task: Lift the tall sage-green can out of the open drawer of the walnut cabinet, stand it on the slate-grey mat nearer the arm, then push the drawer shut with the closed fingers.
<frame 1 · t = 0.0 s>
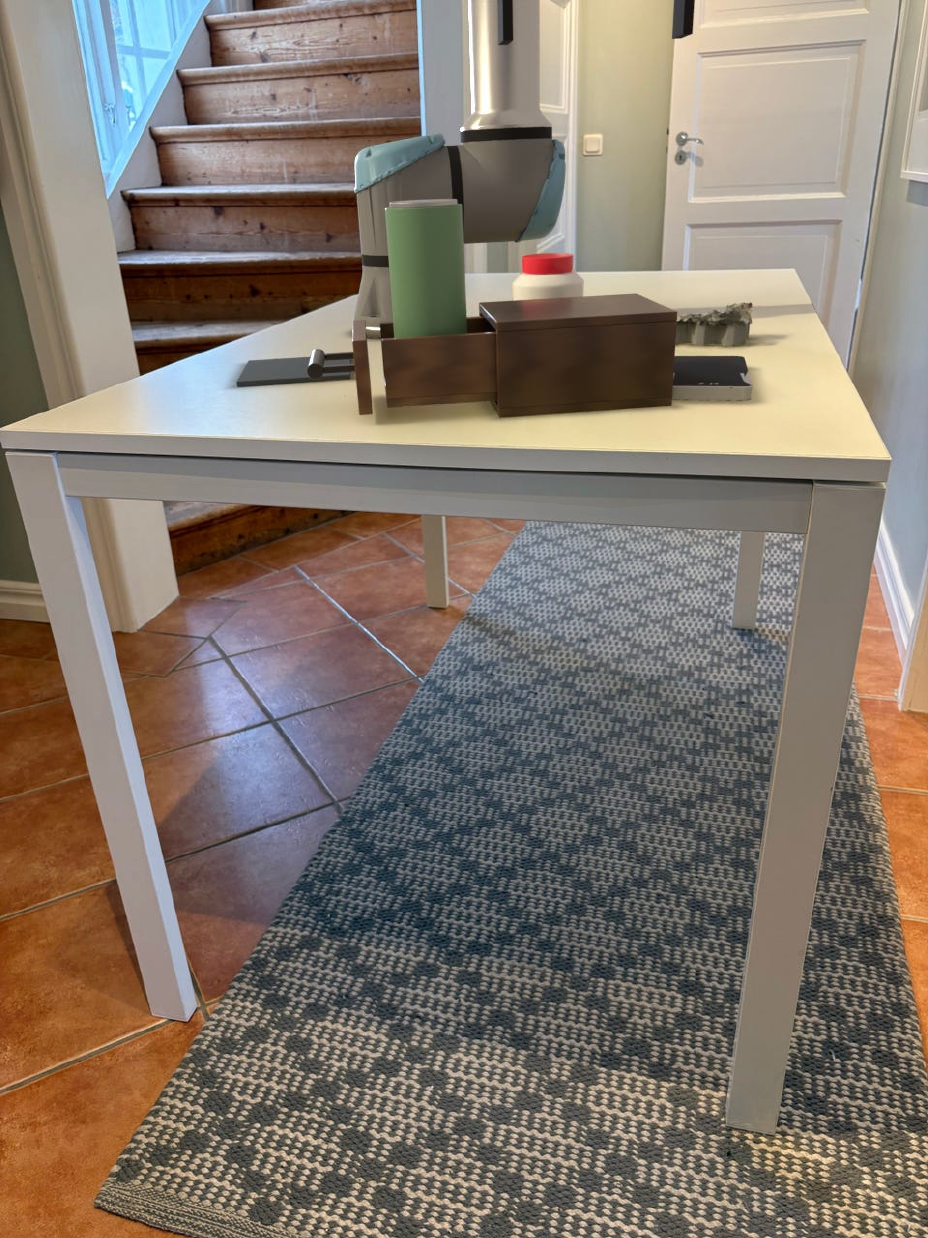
hand: (594, 40, 68), 28 cm above the table, tool pointing down, fingers open, 13 cm apart
mat: (297, 371, 101), on the table
can: (433, 383, 83), point 2 cm above the table, touching drawer
cabinet: (570, 395, 85), on the table
pill bottle: (547, 362, 100), on the table
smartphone: (705, 385, 87), on the table
egg carton: (703, 342, 107), on the table
drawer: (412, 362, 82), point 4 cm above the table, slide at 11.0 cm, touching can
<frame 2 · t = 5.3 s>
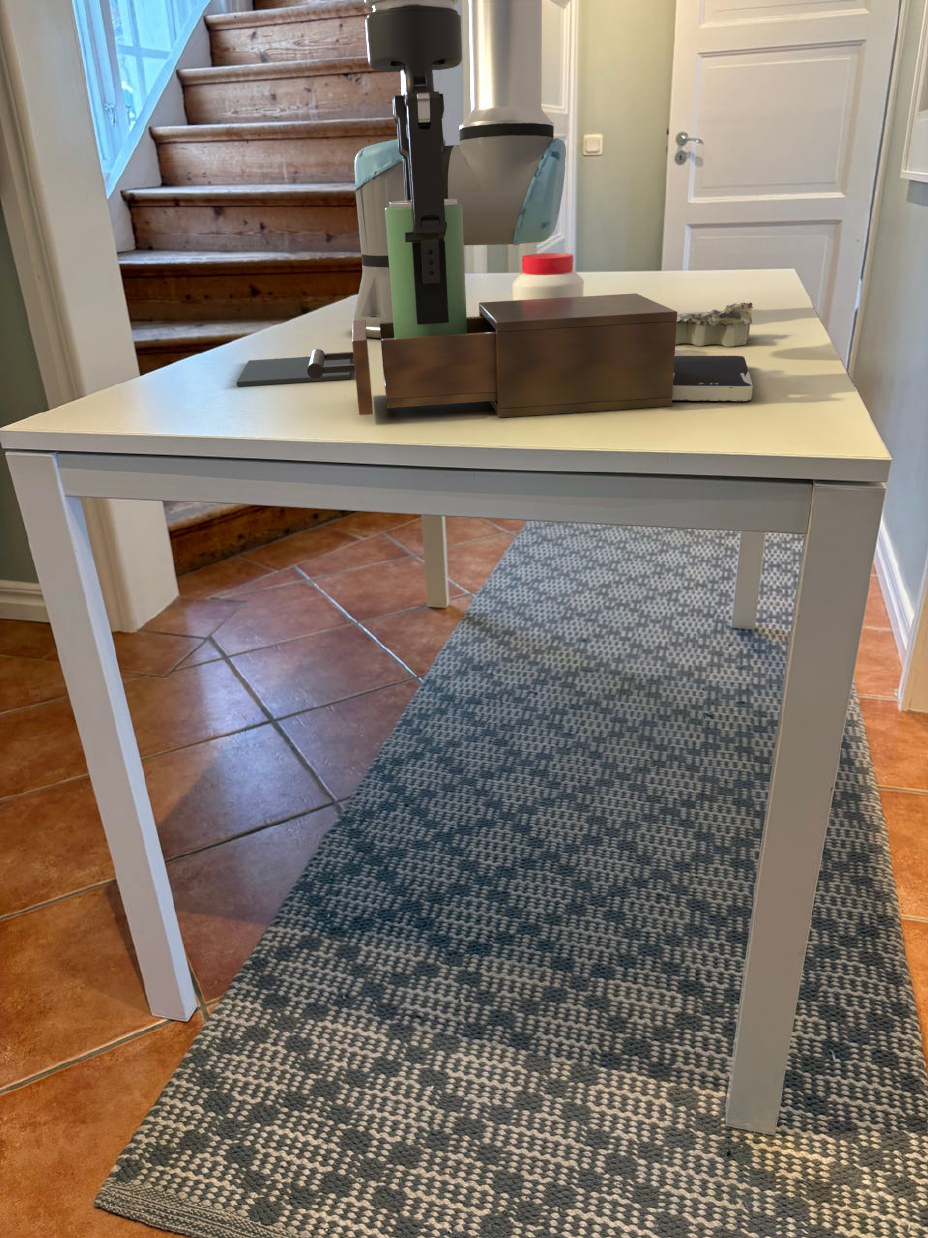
hand: (429, 316, 81), 8 cm above the table, tool pointing down, fingers closed on can, 7 cm apart
can: (433, 383, 83), point 2 cm above the table, touching drawer, gripper
everything else where it was.
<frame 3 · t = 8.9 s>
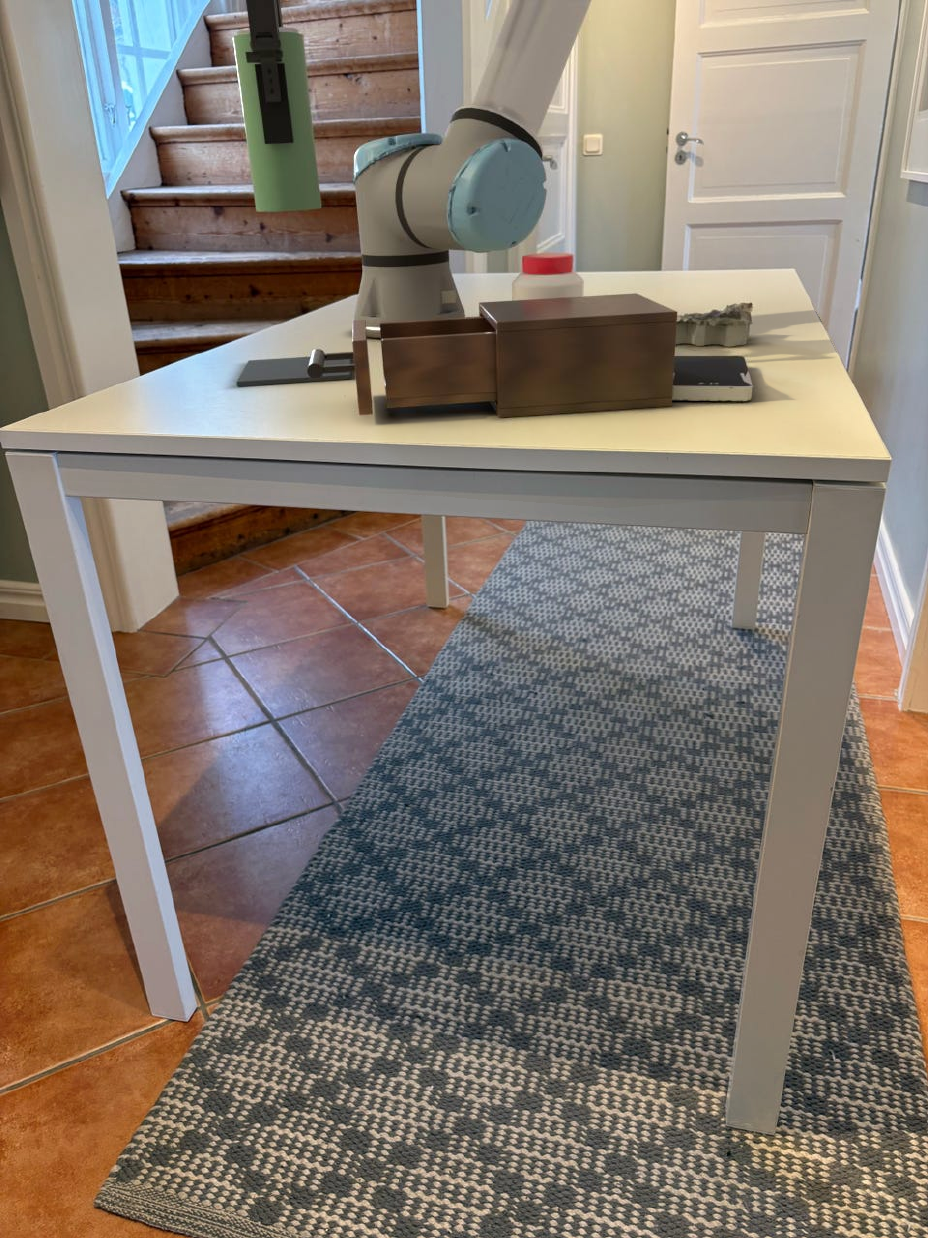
hand: (281, 143, 89), 23 cm above the table, tool pointing down, fingers closed on can, 7 cm apart
can: (289, 209, 92), point 17 cm above the table, touching gripper
drawer: (412, 362, 82), point 4 cm above the table, slide at 11.0 cm
everything else where it was.
when the fingers open (6 cm above the table, at t = 13.0 s): can stays where it is, resting on mat.
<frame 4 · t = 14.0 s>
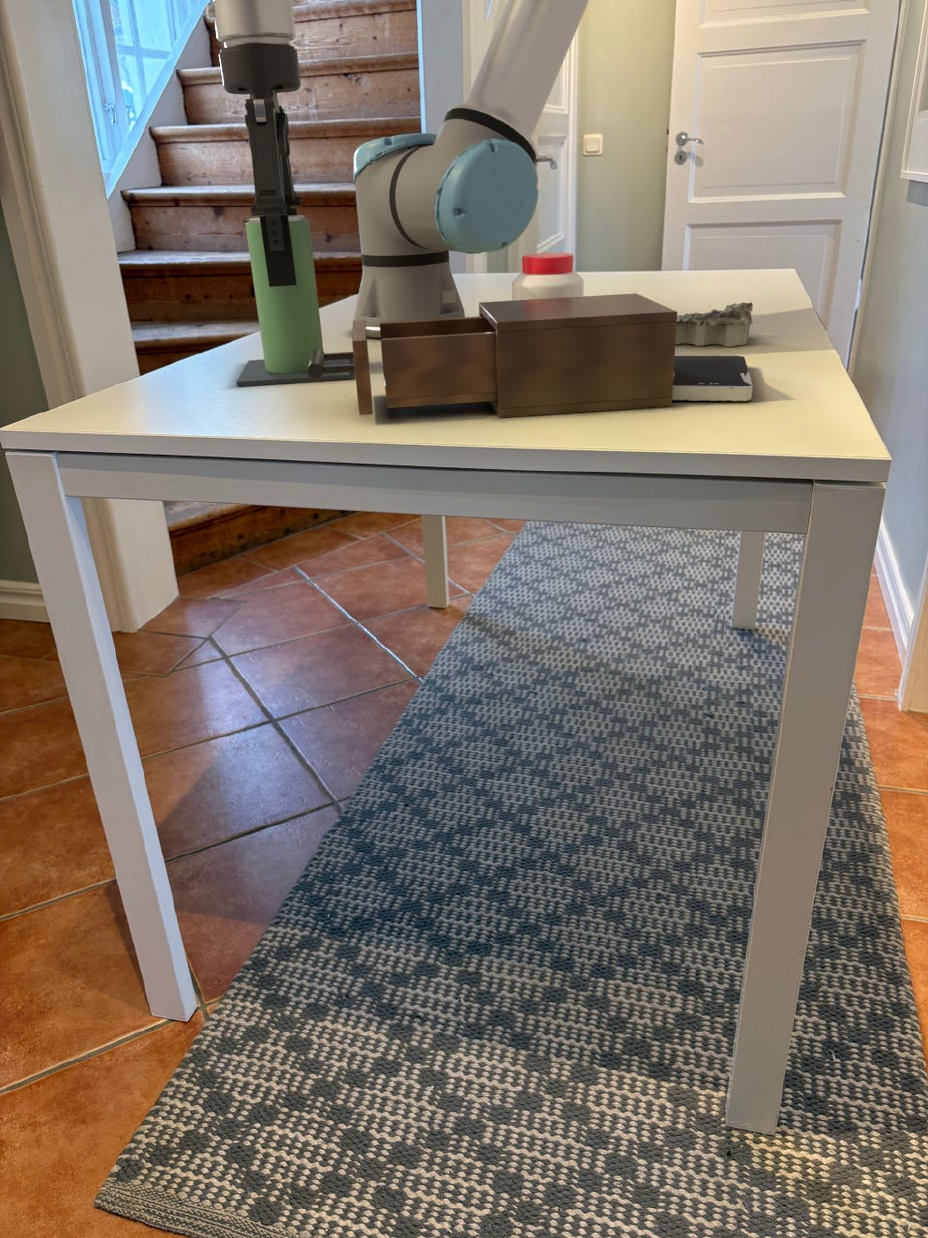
hand: (287, 278, 97), 10 cm above the table, tool pointing down, fingers open, 13 cm apart
can: (295, 367, 101), resting on mat
everything else where it was.
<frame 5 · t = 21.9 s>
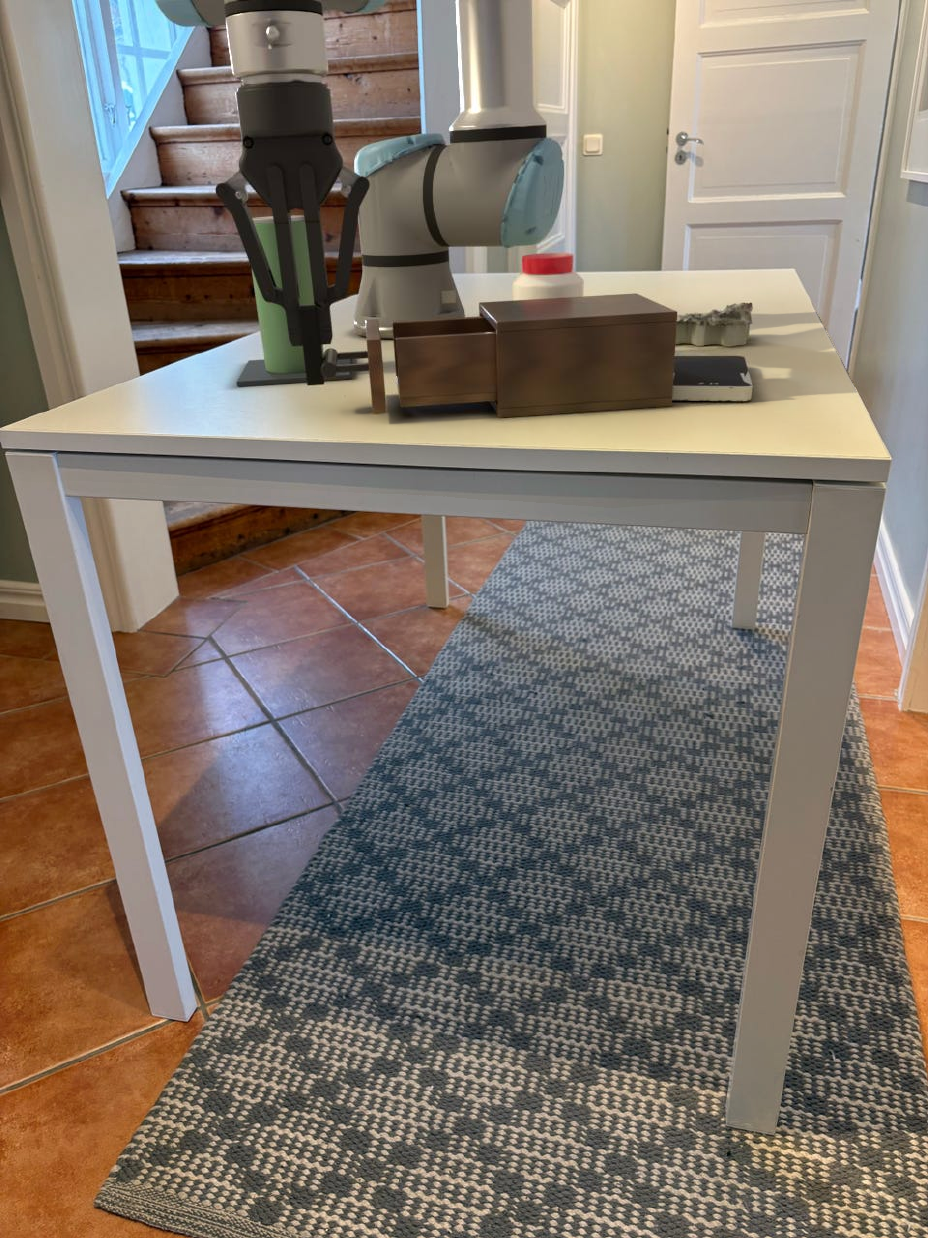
hand: (316, 381, 82), 3 cm above the table, tool pointing down, fingers closed
drawer: (425, 361, 82), point 4 cm above the table, slide at 9.8 cm, touching gripper
everything else where it was.
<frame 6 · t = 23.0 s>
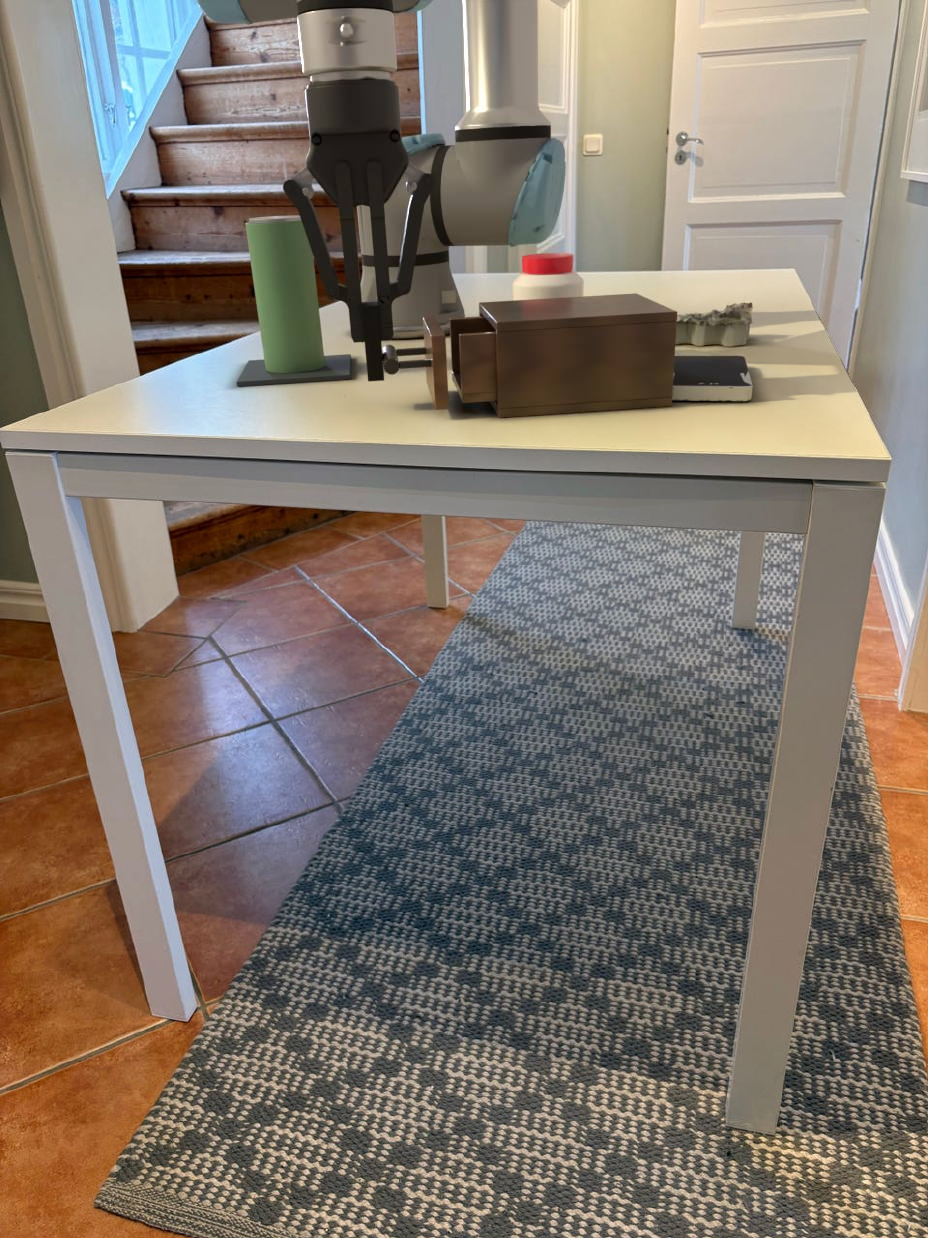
hand: (376, 377, 82), 3 cm above the table, tool pointing down, fingers closed
drawer: (484, 357, 83), point 4 cm above the table, slide at 4.3 cm, touching gripper
everything else where it was.
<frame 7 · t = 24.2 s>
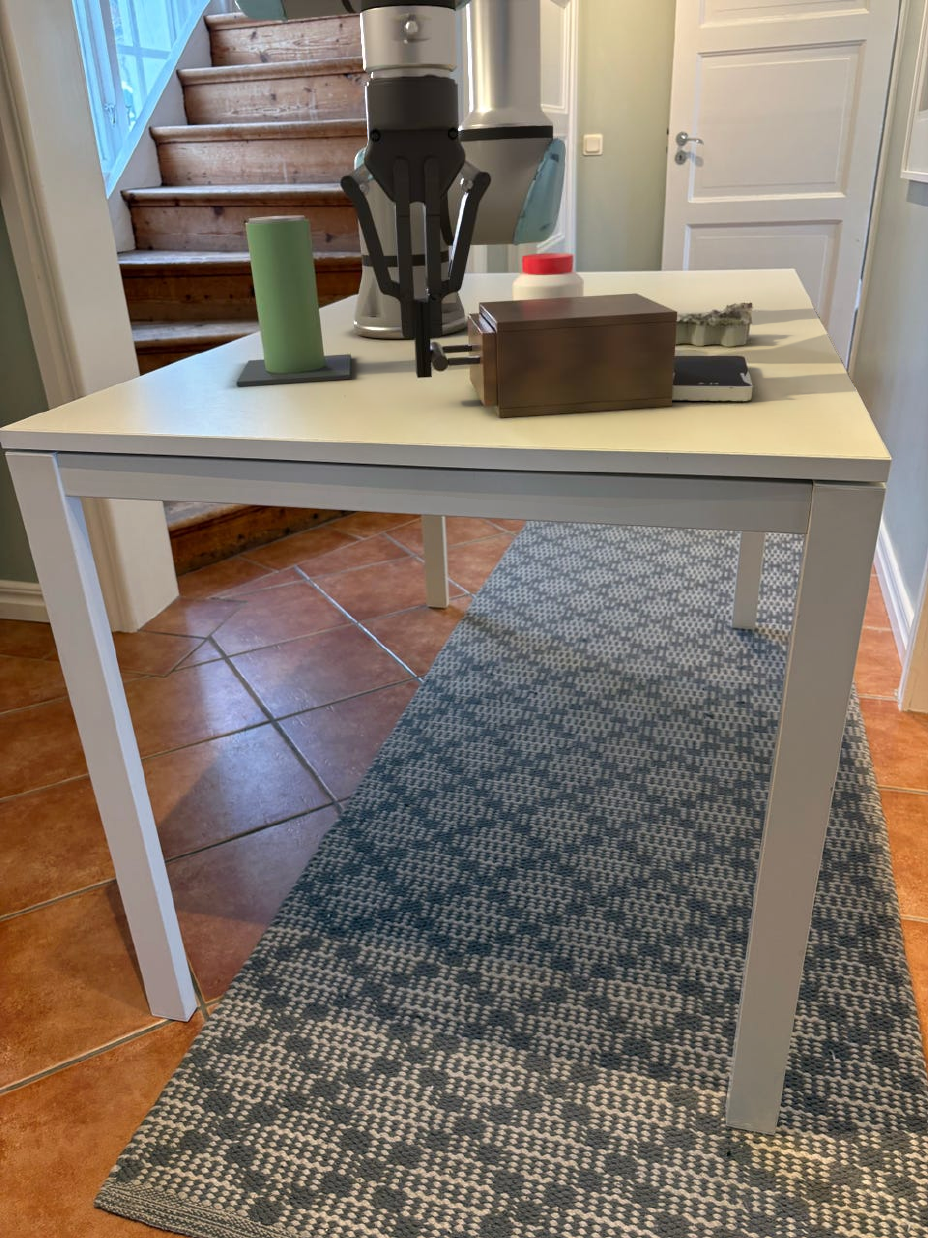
hand: (423, 374, 83), 3 cm above the table, tool pointing down, fingers closed
drawer: (530, 354, 83), point 4 cm above the table, slide at 0.0 cm, touching cabinet, gripper
everything else where it was.
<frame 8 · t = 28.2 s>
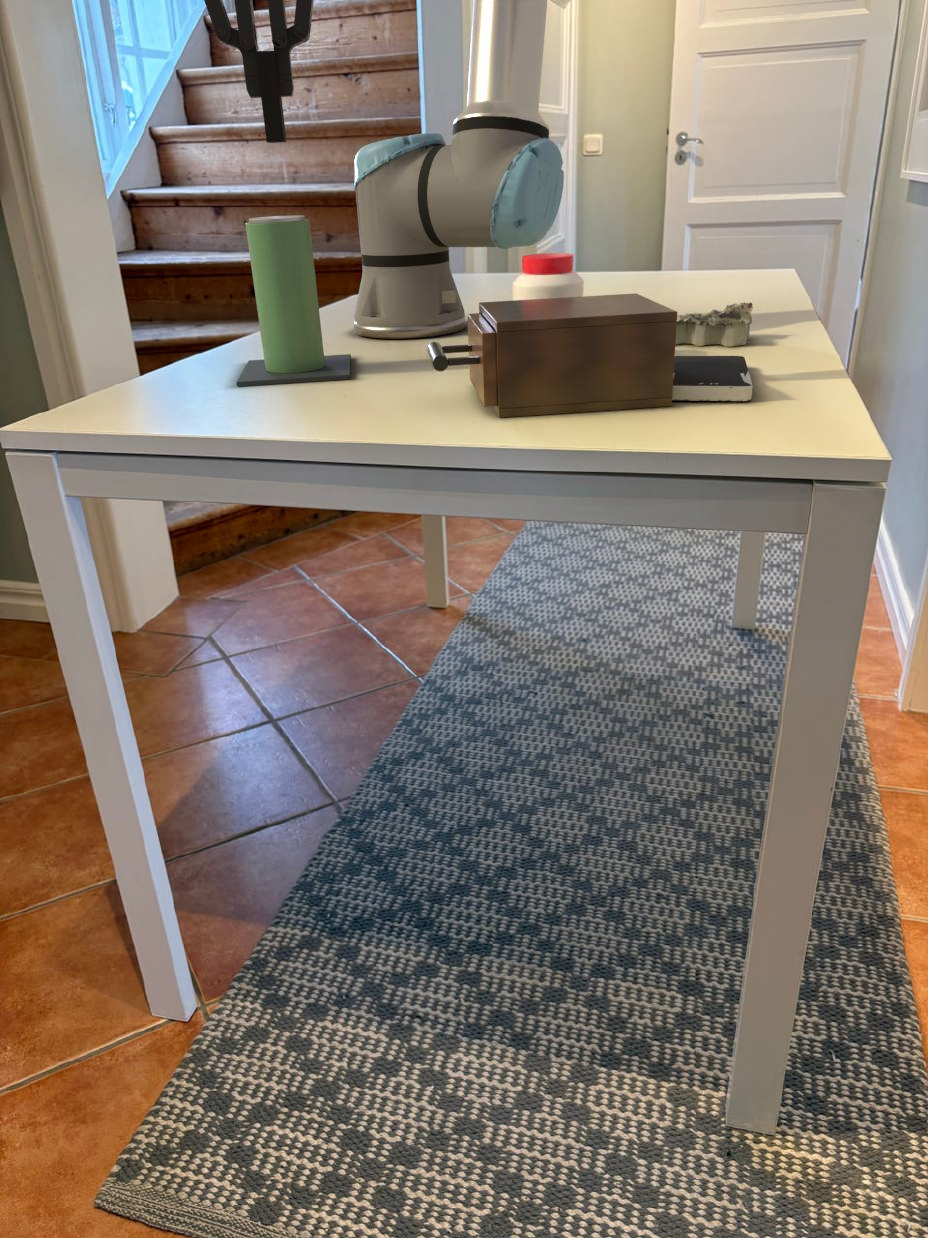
hand: (276, 141, 77), 22 cm above the table, tool pointing down, fingers closed
drawer: (530, 354, 83), point 4 cm above the table, slide at 0.0 cm
everything else where it was.
at the end: can inside the target area on the mat (0.1 cm from its centre), point 0.5 cm above the mat's base; can tilted 0°; drawer slide at 0.0 cm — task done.
